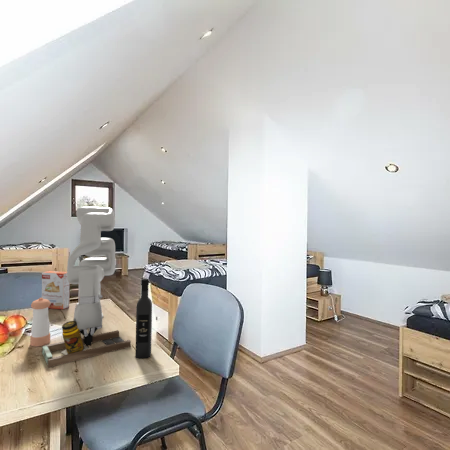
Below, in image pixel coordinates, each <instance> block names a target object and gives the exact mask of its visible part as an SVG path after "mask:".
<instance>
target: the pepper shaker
mask: <svg viewBox="0 0 450 450" xmlns="http://www.w3.org/2000/svg"><path fill="white" fill-rule="evenodd" d="M30 306H31V309H32V322H31V328H30V329H31V331H30V332H31V335H30V336H29V337H30V339H29V340H30V341H29V342H30V343H29V344H30V346H31V347H42V346H45V345H49V344H51V333H50V329H51V328H50V327H51V326H50V319H49V318H50V317H49V308H48V307H49V306H50V301H49V300H47V299H43V298H42V297H39V298H38V299H35V300H33V301H32V302H31V304H30Z"/></svg>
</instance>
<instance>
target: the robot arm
mask: <svg viewBox="0 0 450 450" xmlns="http://www.w3.org/2000/svg"><path fill="white" fill-rule="evenodd" d="M75 213H76V218H77V221H78V223H79V224H80V233H79V234H80V238H79V239H80V240H79V244H78V245H77V246H76V247H75V248H74V249H73V250H72V251H71V253H70V255H69V256H68V259H67V267H66V272H67V280H68V282H69V283H70V285H78V296H77V299H78V300H77V301H78V302H77V303H75V307H74V312H73V321H76V323H77V328H79V330H80V333H81V336H83V337H84V345H85V346H87V347H90V346H92V343H91V342H93V335H95V333H96V331H97V330H100V329H102V328H103V317H104V313H103V309H102V304H101V303H102V302H101V299H103V294H102V293H101V291H102V290H101V287H102V286H101V285H102V284H101V282H102V280H104V277H105V276H112V275H114V274H115V271H116V243H115V240H114V239H113V238H111V237H101V236H102V235H101V233H102V232H111V231H113V230H114V229H115V225H116V219H115V217H116V216H115V215H116V214H115V211H114V209H113V208H111V207H106V206H105V207H104V206H103V207H101V206H100V207H99V206H79V207H78V208H77V209H76V212H75ZM82 255H84V256H86V257H87V258H83V259H82V260H80V262H79V265H76V261H77V259H79V258H80V257H81V256H82ZM88 329H89V330H88ZM93 343H94V342H93Z"/></svg>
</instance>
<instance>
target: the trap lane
mask: <svg viewBox="0 0 450 450" xmlns="http://www.w3.org/2000/svg"><path fill="white" fill-rule="evenodd" d="M82 341H83V345H85V344H84V336H83V337H82ZM100 341H101V342H103V343H104V344H105V345H102V346H98V347H93V348H88V349H86V350H84V351H80V352H75V353H71V354H67V355H65V354H63V355H59V356H54V357H53V354H52V353H53V352H58V351H61V350H62V351H63V350H65V349H66V347H65V343H64V341H60V342H55V343H49V344H46V345H43V346H41V354H42V356H43V358H44V359H43V360H44V361H45V362H46V364H47V368H52V367H56V366H60V365H65V364H69V363H72V362H76V361H79V360H80V361H81V360H83V359H88V358H91V357H96V356H99V355H104V354H107V353H111V352H116V351H120V350H124V349H127V348H131V347H132V346H131V344H132V343H131V339H127V340H124V339H122V337H120V331H119V330H118V329H117V330H112V331H107V332H103V333H98V334H94V335H93V342H91V344H92V343H98V342H100Z"/></svg>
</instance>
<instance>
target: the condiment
mask: <svg viewBox="0 0 450 450" xmlns="http://www.w3.org/2000/svg"><path fill="white" fill-rule="evenodd" d="M61 329H62V330H61V331H62V338H63V342H64V343H65V347H66V349H63V350H62V351H60V353H61V354H63V355H67V354H71V353H75V352H80V351H84V350H88V349H90V346H86V345H85V344H84V345H83V341H82V338H83V337H82V334H81V333H80V330H79V328H77V323H76V321H74V320H69V321H67V322H65V323H63V324H62V325H61Z"/></svg>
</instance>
